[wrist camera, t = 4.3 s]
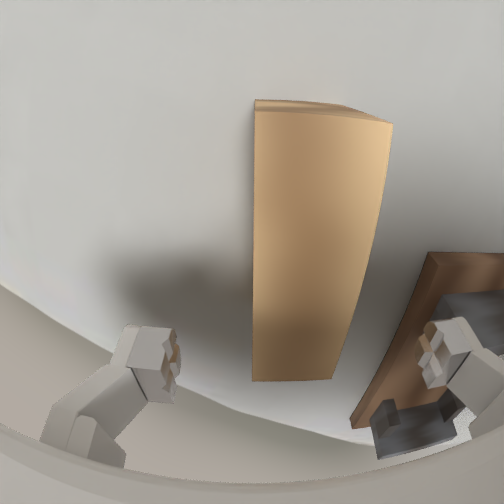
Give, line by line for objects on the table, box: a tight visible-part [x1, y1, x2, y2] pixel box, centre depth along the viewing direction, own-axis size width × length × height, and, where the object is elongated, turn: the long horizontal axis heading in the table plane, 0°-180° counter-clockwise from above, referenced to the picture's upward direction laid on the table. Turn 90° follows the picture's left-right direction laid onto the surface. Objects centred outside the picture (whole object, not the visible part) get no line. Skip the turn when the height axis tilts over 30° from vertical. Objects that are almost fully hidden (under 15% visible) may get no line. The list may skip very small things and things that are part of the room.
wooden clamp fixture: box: [350, 252, 504, 460], centre depth 20 cm, size 12×22×6 cm, turn 0°
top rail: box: [252, 99, 393, 381], centre depth 13 cm, size 4×12×6 cm, turn 0°
